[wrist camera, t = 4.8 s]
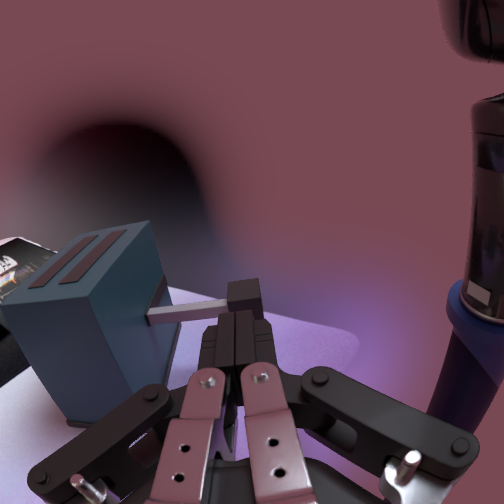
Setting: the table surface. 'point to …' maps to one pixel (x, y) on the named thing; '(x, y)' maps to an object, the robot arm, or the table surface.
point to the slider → (214, 305)
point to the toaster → (95, 321)
